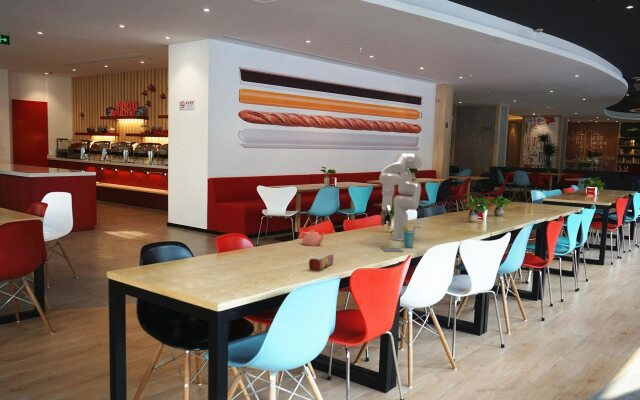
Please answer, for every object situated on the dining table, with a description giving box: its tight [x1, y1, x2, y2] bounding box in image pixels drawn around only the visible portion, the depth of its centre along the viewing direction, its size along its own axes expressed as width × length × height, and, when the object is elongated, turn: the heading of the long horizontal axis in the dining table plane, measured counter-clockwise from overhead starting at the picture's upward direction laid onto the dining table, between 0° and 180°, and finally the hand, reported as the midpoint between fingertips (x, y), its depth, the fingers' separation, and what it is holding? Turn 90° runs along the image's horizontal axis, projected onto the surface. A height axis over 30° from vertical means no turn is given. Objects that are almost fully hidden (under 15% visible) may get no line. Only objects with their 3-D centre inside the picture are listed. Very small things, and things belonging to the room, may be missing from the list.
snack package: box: [308, 252, 334, 272], centre depth 301 cm, size 21×7×7 cm, turn 158°
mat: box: [380, 246, 404, 253], centre depth 360 cm, size 12×12×1 cm
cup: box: [402, 225, 421, 249], centre depth 371 cm, size 14×8×15 cm, turn 50°
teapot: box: [300, 229, 326, 247], centre depth 365 cm, size 12×18×10 cm
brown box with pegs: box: [380, 213, 393, 227], centre depth 368 cm, size 6×6×7 cm
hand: (386, 220), depth 368 cm, fingers closed on brown box with pegs, 6 cm apart
